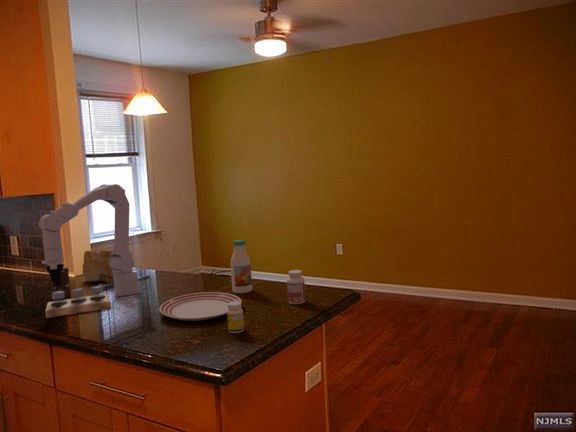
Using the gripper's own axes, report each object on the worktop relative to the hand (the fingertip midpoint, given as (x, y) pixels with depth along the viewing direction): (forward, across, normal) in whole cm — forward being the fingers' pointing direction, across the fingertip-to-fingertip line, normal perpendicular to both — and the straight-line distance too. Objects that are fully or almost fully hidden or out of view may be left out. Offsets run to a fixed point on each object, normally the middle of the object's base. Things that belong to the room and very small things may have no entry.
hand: (57, 285), depth 170 cm
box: (+10, -19, 0) cm, 21 cm away
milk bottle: (+10, +13, +65) cm, 67 cm away
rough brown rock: (+10, -39, +19) cm, 44 cm away
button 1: (+5, 0, 0) cm, 5 cm away
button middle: (+5, 0, +6) cm, 8 cm away
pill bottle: (+10, +38, +77) cm, 86 cm away
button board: (+9, +1, +6) cm, 11 cm away
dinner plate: (+10, +30, +45) cm, 55 cm away
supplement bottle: (+10, +54, +50) cm, 74 cm away
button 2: (+5, 0, +13) cm, 14 cm away
